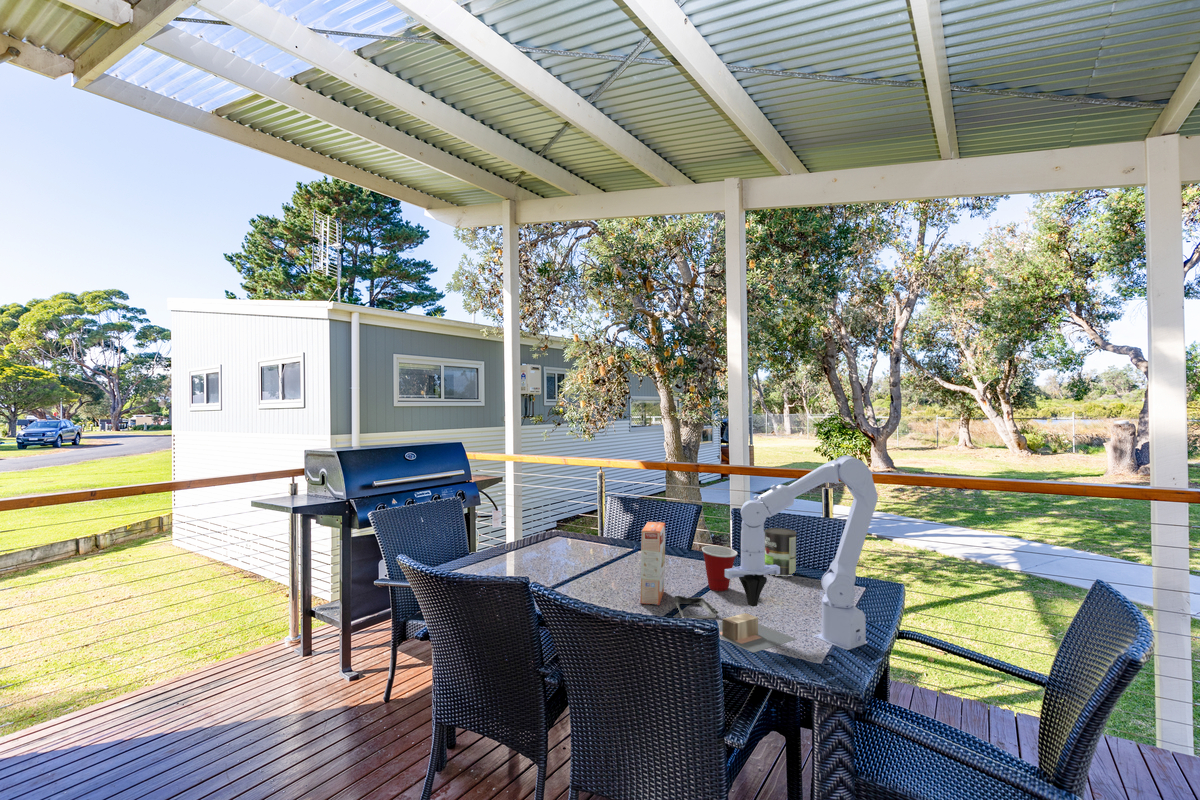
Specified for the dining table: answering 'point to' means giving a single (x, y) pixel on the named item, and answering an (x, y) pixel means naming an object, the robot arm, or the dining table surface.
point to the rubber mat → (760, 639)
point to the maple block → (739, 626)
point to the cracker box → (652, 563)
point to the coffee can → (781, 549)
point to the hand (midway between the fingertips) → (752, 605)
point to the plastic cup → (718, 566)
